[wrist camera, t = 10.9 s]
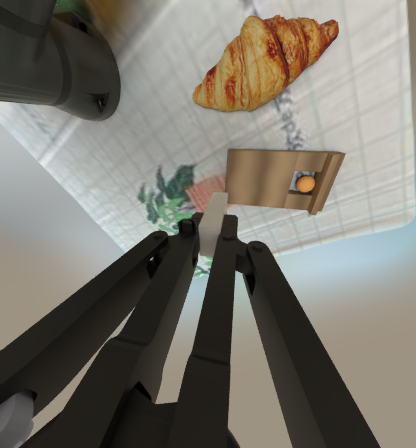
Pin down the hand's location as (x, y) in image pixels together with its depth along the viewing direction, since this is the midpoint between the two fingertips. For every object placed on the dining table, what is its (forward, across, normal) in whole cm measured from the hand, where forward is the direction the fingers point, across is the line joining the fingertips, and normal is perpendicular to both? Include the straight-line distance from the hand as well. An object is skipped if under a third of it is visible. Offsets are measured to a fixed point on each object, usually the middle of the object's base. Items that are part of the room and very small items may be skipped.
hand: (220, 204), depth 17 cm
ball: (+19, +15, -3) cm, 24 cm away
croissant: (+21, +2, +14) cm, 26 cm away
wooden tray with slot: (+20, +9, -3) cm, 22 cm away
